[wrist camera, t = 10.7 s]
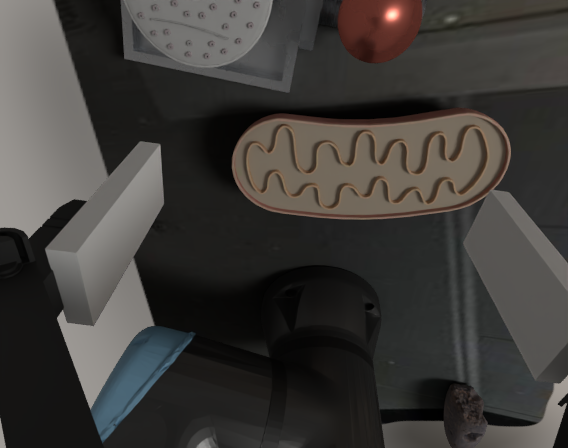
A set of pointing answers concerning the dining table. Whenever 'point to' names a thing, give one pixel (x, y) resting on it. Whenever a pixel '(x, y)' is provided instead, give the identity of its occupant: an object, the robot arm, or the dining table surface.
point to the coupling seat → (300, 25)
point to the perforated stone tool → (463, 416)
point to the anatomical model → (371, 163)
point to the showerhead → (201, 28)
